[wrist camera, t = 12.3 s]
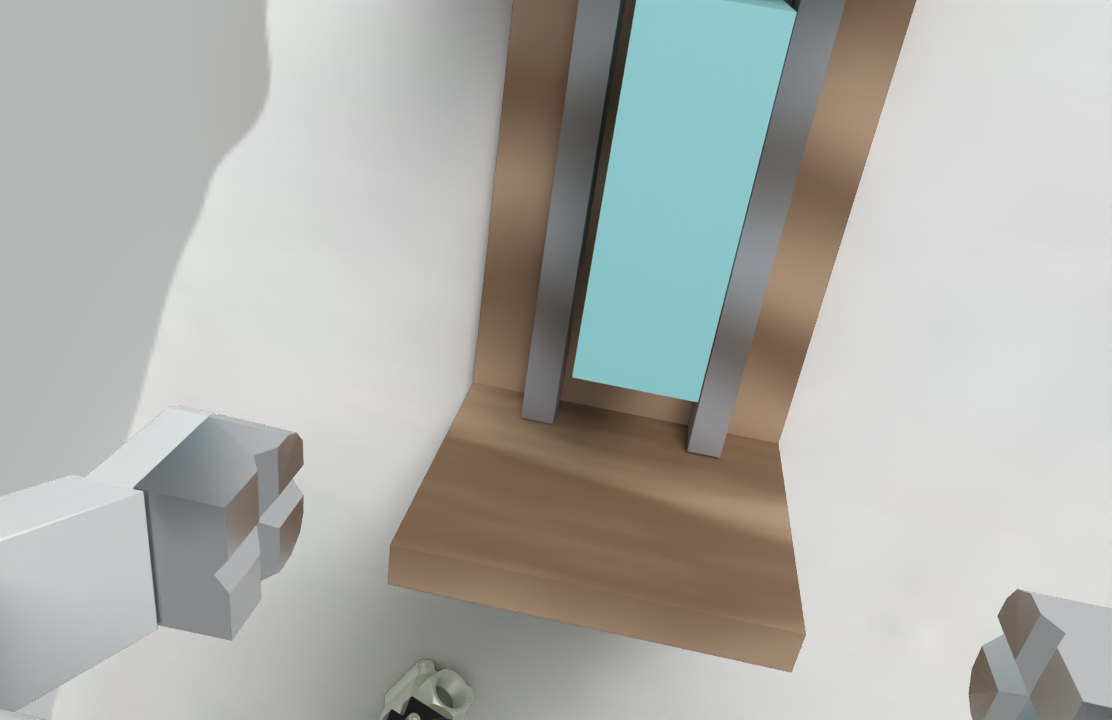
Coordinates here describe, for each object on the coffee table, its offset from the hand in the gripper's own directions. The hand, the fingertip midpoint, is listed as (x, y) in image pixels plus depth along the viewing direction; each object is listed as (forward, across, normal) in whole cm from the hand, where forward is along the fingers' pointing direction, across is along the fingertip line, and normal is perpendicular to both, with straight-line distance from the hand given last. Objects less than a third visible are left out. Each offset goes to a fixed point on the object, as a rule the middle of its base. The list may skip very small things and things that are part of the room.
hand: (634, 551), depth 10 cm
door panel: (+21, 0, 0) cm, 21 cm away
